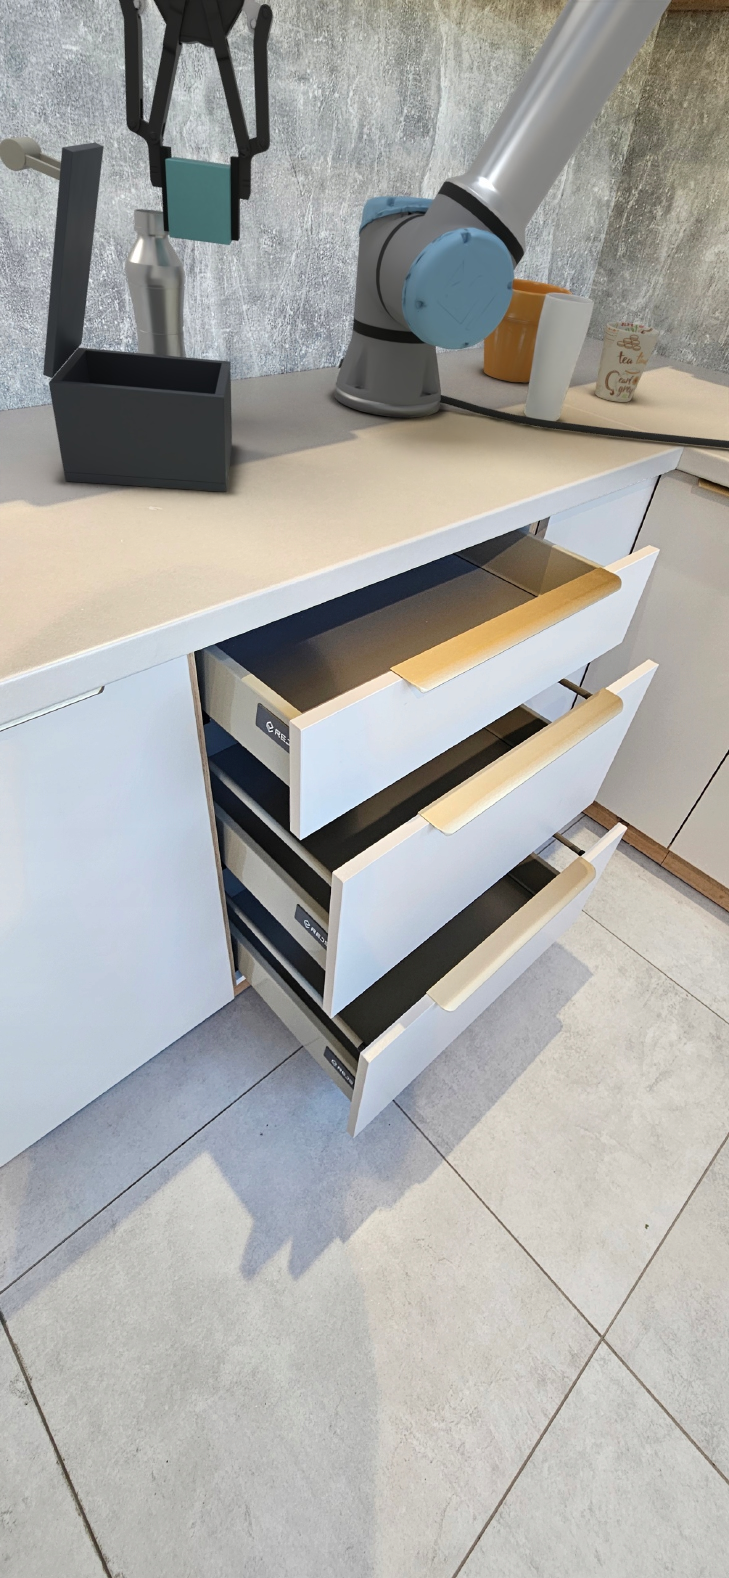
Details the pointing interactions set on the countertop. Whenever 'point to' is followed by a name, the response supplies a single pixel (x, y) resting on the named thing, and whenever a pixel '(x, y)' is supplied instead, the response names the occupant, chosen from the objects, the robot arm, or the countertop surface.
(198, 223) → the detergent carton
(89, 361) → the compartment
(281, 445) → the countertop surface
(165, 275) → the silver metal bottle
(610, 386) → the mug
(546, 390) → the drinking glass
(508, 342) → the flower pot
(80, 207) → the lid
